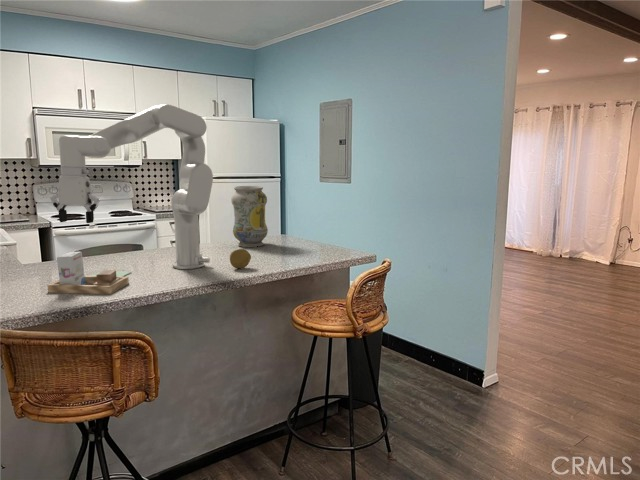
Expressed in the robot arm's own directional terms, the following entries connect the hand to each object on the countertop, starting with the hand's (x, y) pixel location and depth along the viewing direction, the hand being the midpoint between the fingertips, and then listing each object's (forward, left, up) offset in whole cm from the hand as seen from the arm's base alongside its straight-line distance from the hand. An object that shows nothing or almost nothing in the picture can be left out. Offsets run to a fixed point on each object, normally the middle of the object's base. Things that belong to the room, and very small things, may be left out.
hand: (76, 222), depth 161 cm
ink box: (0, +6, -22) cm, 23 cm away
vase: (-43, -78, -22) cm, 92 cm away
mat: (-4, -9, -22) cm, 24 cm away
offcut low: (-13, +6, -22) cm, 26 cm away
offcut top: (-13, +6, -19) cm, 24 cm away
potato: (-50, -27, -22) cm, 61 cm away
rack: (-6, +6, -22) cm, 23 cm away
